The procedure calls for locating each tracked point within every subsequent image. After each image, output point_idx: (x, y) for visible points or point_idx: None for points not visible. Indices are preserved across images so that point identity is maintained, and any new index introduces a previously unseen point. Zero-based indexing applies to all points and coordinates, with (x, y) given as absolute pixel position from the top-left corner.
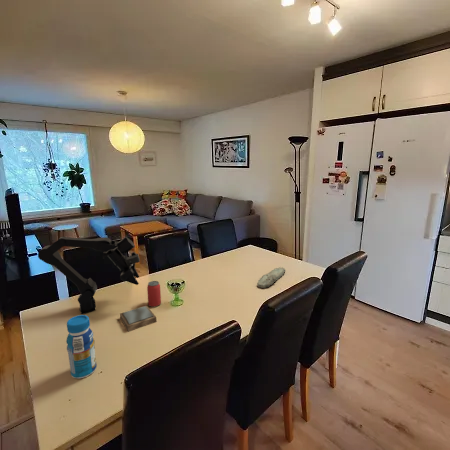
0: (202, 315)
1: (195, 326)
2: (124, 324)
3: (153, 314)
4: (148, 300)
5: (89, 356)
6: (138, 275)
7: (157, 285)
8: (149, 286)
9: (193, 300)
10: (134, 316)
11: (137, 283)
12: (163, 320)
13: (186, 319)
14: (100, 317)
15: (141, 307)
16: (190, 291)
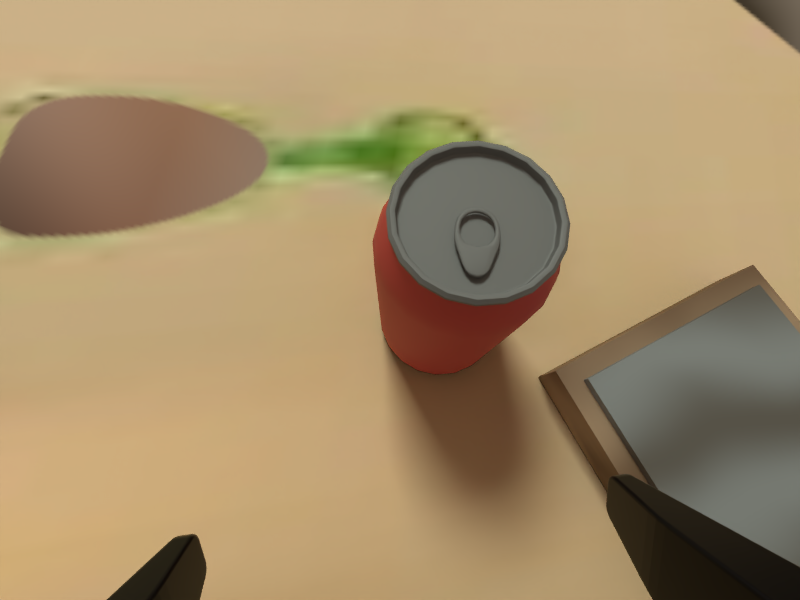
0: (618, 18)
1: (743, 57)
2: None
3: (714, 290)
4: (478, 358)
5: None
6: (172, 562)
7: (523, 169)
8: (549, 281)
9: (415, 52)
10: (795, 459)
11: (649, 501)
12: (692, 234)
13: (669, 99)
14: None
15: (616, 414)
16: (262, 64)
